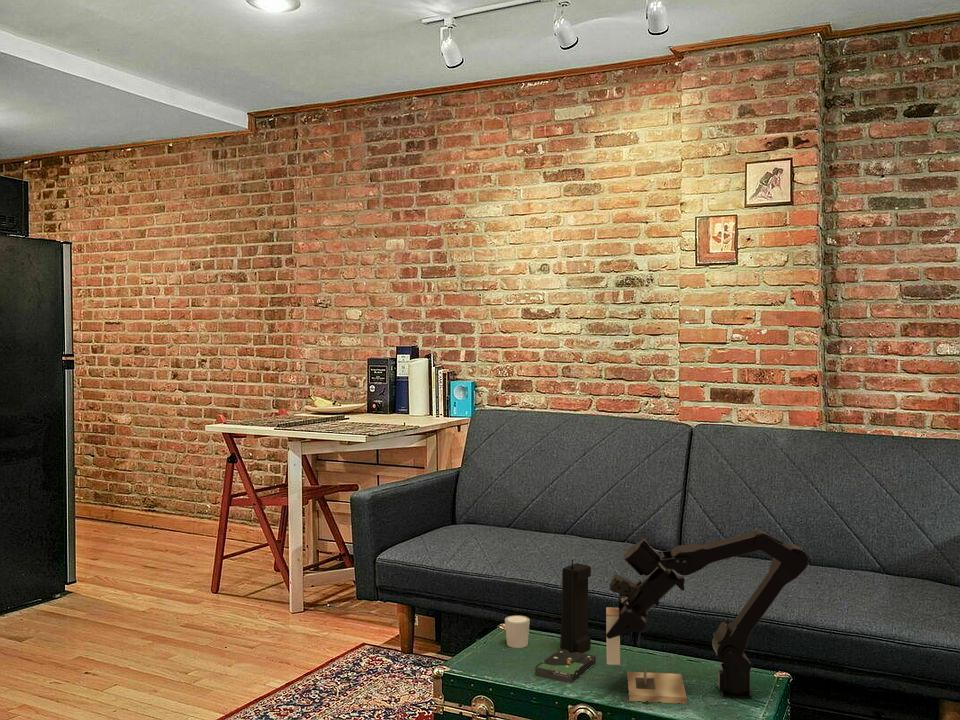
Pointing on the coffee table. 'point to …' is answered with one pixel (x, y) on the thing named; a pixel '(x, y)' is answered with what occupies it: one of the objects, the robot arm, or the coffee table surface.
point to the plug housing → (612, 643)
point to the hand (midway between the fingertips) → (607, 633)
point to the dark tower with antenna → (575, 608)
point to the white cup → (517, 631)
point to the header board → (656, 687)
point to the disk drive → (565, 665)
